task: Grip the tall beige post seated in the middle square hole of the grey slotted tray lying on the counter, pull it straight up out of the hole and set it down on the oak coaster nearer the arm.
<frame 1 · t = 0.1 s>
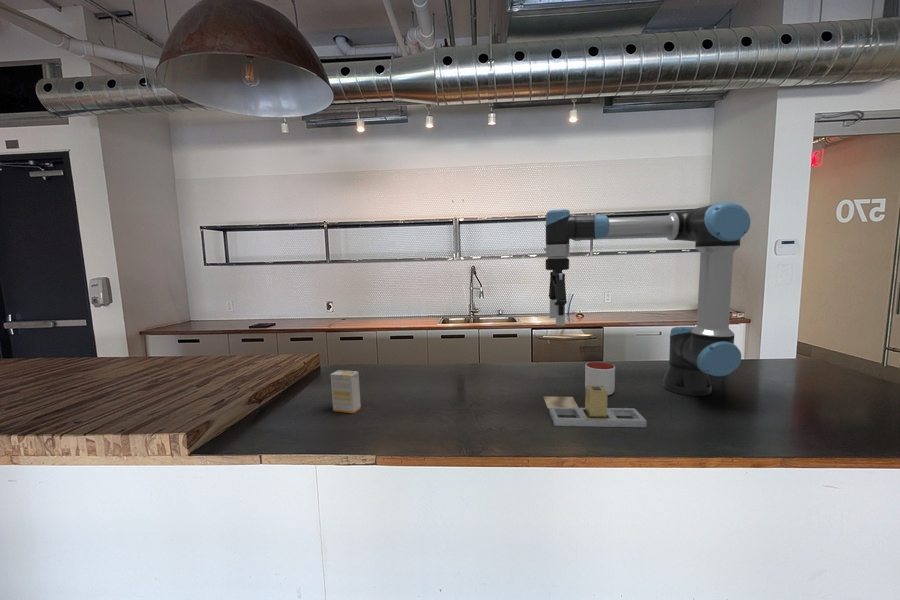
hand: (556, 321, 127), 28 cm above the countertop, fingers open, 13 cm apart
tall beige post: (596, 404, 115), in the grey slotted tray
grey slotted tray: (595, 420, 115), on the countertop
cup: (599, 392, 138), on the countertop
coaster: (560, 403, 129), on the countertop
supplement box: (347, 410, 128), on the countertop
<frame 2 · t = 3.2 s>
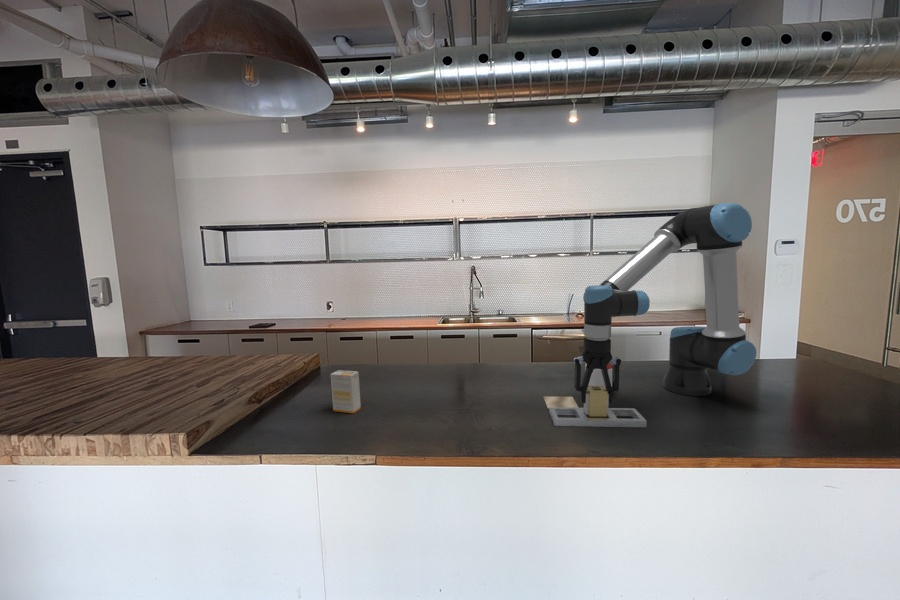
hand: (595, 412, 115), 2 cm above the countertop, fingers closed on tall beige post, 5 cm apart
tall beige post: (595, 404, 115), in the grey slotted tray, touching gripper
everything else where it was.
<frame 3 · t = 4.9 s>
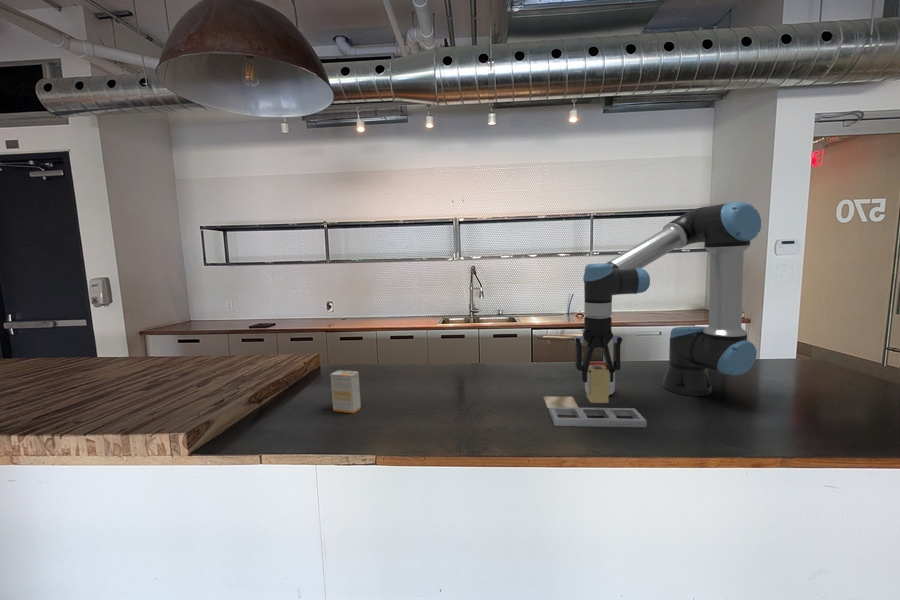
hand: (597, 392, 114), 9 cm above the countertop, fingers closed on tall beige post, 5 cm apart
tall beige post: (597, 383, 114), point 12 cm above the countertop, touching gripper
everything else where it was.
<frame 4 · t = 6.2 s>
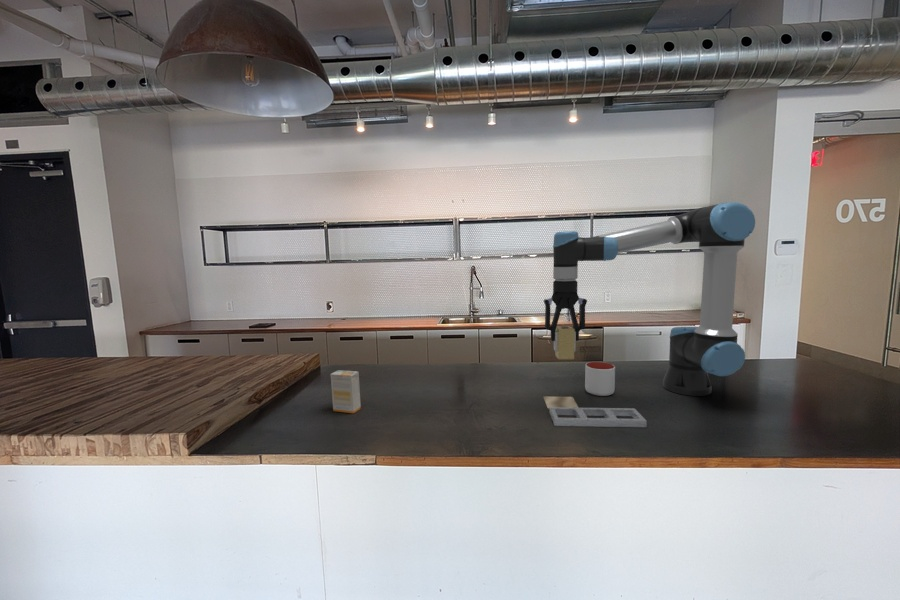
hand: (564, 350, 125), 19 cm above the countertop, fingers closed on tall beige post, 5 cm apart
tall beige post: (564, 342, 125), point 22 cm above the countertop, touching gripper
everything else where it was.
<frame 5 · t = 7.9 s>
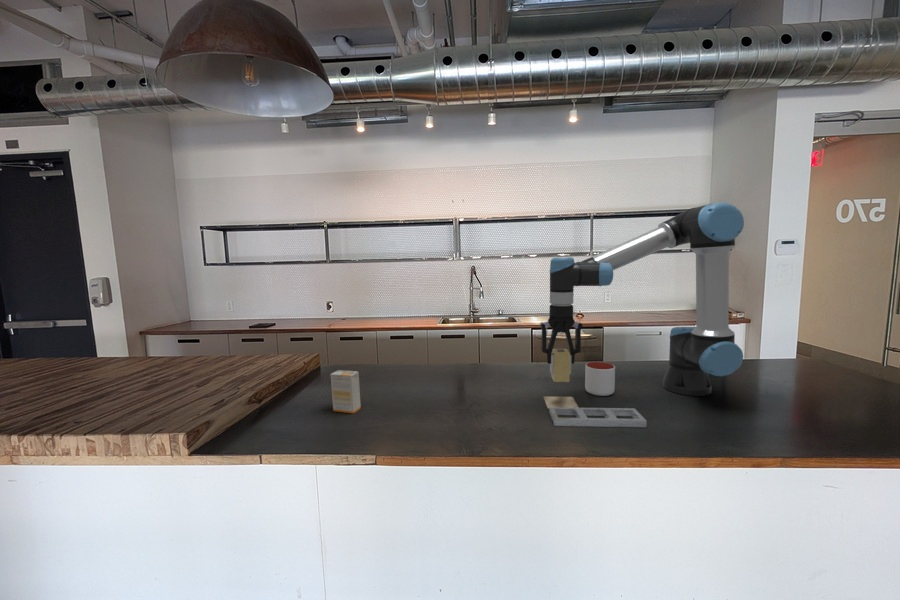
hand: (560, 372, 128), 11 cm above the countertop, fingers closed on tall beige post, 5 cm apart
tall beige post: (560, 364, 127), point 14 cm above the countertop, touching gripper
everything else where it was.
when the fingers open (4 cm above the countertop, at t = 9.4 s): tall beige post drops 1 cm, resting on coaster.
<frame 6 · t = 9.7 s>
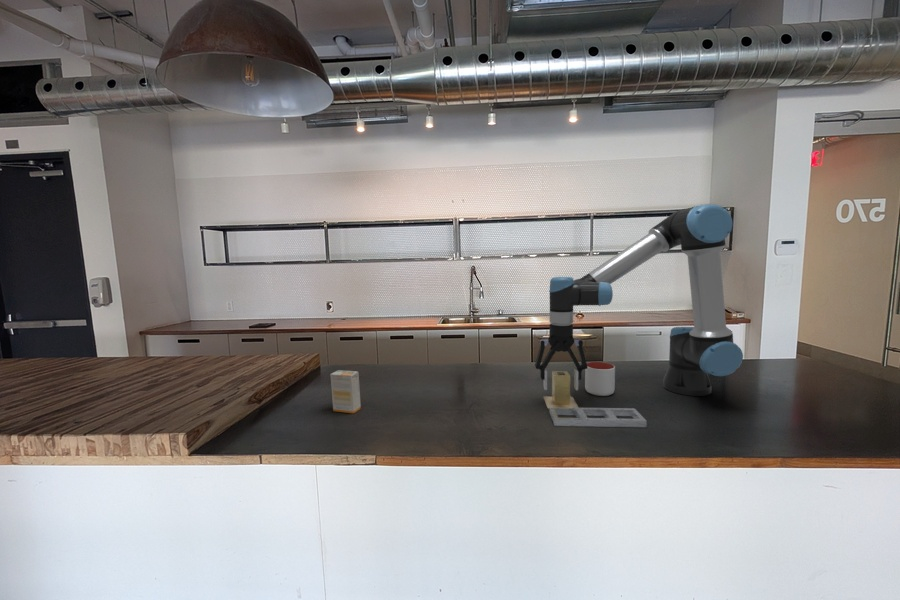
hand: (560, 388, 128), 5 cm above the countertop, fingers open, 9 cm apart
tall beige post: (560, 387, 128), on the coaster
everything else where it was.
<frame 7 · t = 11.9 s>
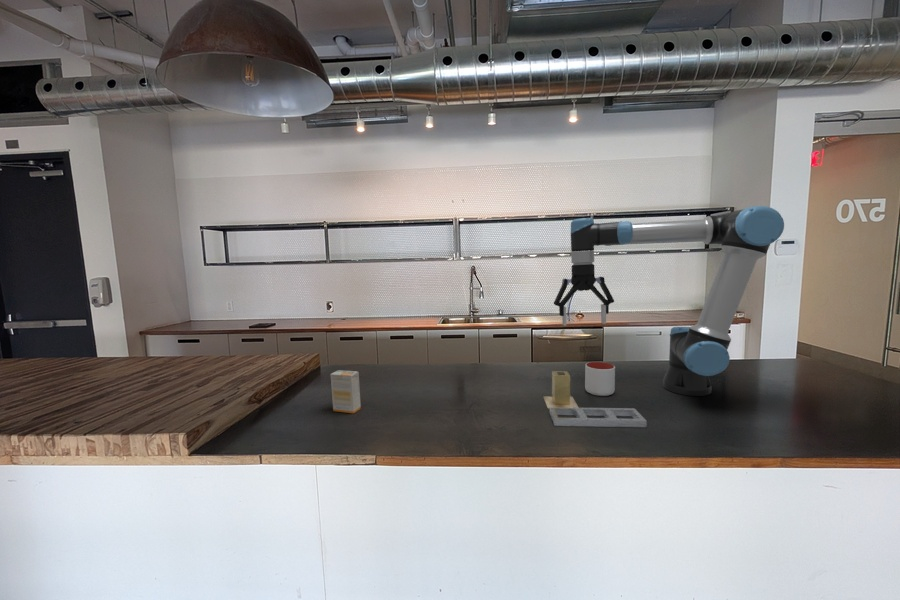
hand: (584, 324, 134), 26 cm above the countertop, fingers open, 13 cm apart
nothing on the countertop moved.
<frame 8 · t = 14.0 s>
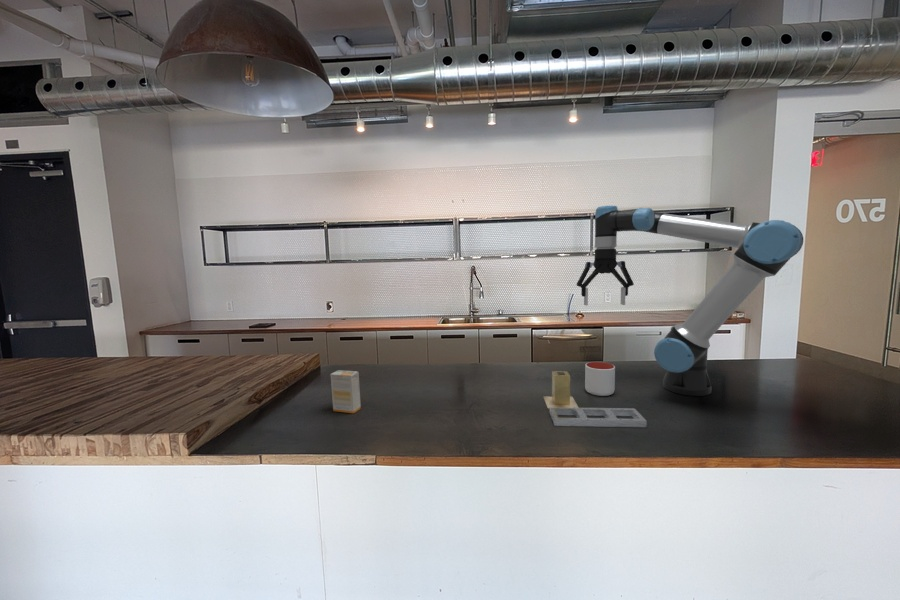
hand: (604, 304, 144), 31 cm above the countertop, fingers open, 13 cm apart
nothing on the countertop moved.
at the end: tall beige post inside the target area on the coaster (0.1 cm from its centre), point 5.5 cm above the coaster's base; tall beige post tilted 0°; tall beige post touching coaster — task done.
